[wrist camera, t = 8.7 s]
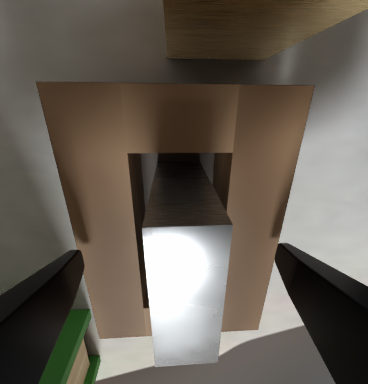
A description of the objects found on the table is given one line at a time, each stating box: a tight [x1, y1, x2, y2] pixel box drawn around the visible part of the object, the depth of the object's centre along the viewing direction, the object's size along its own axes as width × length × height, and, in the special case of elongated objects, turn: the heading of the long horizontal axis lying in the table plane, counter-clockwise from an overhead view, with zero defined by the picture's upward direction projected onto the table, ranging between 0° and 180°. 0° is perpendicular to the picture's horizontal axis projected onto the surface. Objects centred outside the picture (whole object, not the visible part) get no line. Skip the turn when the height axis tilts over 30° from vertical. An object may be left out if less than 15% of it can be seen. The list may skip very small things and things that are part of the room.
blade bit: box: [142, 161, 233, 367], centre depth 10 cm, size 2×6×7 cm, turn 0°
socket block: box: [36, 82, 315, 339], centre depth 12 cm, size 10×14×4 cm
